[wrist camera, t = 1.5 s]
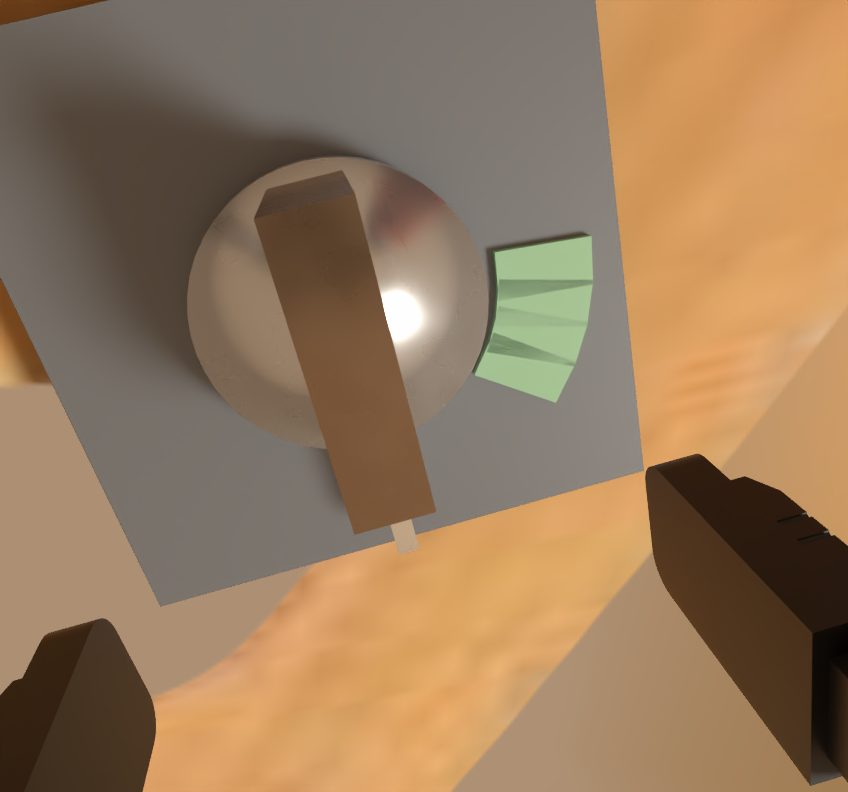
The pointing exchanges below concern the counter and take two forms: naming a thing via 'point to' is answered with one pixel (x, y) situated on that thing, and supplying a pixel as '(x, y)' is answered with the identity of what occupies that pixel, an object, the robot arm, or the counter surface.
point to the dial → (342, 321)
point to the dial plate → (270, 148)
